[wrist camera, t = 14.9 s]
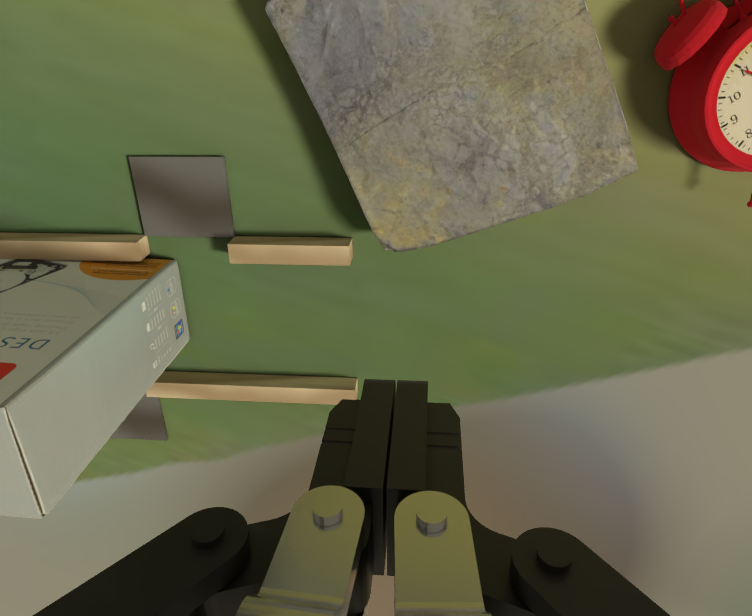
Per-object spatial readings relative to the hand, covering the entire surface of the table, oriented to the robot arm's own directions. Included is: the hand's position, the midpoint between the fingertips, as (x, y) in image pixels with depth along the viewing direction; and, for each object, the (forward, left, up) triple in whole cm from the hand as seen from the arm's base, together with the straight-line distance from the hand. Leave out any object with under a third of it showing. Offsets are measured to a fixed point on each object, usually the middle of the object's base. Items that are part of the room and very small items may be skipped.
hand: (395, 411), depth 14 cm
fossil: (-5, +2, -30) cm, 30 cm away
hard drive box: (+11, -27, -29) cm, 41 cm away
